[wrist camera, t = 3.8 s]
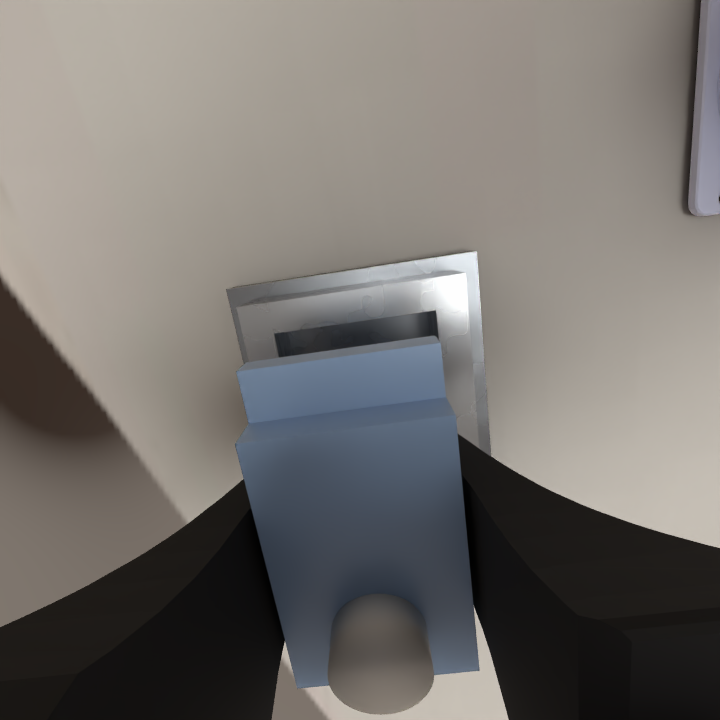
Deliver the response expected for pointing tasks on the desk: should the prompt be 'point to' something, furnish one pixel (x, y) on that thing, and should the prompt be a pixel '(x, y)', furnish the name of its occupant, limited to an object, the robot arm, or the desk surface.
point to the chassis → (378, 321)
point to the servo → (362, 518)
